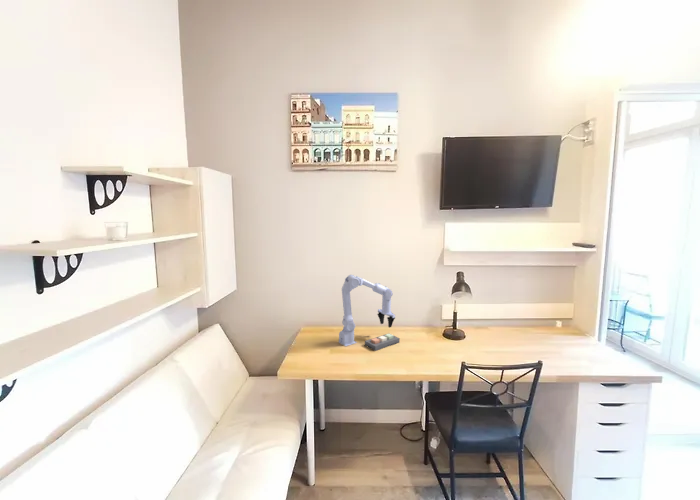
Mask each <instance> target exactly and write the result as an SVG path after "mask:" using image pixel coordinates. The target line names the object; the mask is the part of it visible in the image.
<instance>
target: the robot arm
mask: <svg viewBox="0 0 700 500" xmlns="http://www.w3.org/2000/svg"><path fill="white" fill-rule="evenodd" d="M358 286H365V287H368V288H370V289H372V291H373V292H375V293H376V294H379V295H381V296H382V303H381V304H382V305H381V309H377V314H376V315H377V316H378V319H379V322H380V323H379V324H380V325H382V324H384V322H385V316H387V317H386V319H387V322H388V323H387V324H388V325H387V326H388V328H392V326H393V322H394V320H395V319H396V314H394V313H393V312H392V309H391V308H392V306H391V305H392V296H393V291H392V289H390V288H389V287H387V286H386V285H385V286H384V285H382V284H381V283H380V282H378V283H377V282H376V283H375V282H374V283H373V282H370V281H369V280H366V279H365V278H363V277H360V276H357V275H355V274H349V275H347V277H345V278H344V283H343V284H342V287H341V295H342V307H343V309H342V310H343V317H342V318H343V319H342V325H343V327H342V330H340V331H339V333H338V343H339V344H340V345H341V346H344V347H348V346H350V345H354V344H357V343H358V342H357V341H355V329H356V323H355V322H354V318H353V312H352V301H351V291H352V290H354V289H356V288H358Z"/></svg>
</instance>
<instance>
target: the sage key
mask: <svg viewBox="0 0 700 500" xmlns="http://www.w3.org/2000/svg"><path fill="white" fill-rule="evenodd" d="M384 335H385V334H384ZM394 336H395V335H394V334H392V333H389V334H388V333H386V335H385V337H387V339H392V338H394Z"/></svg>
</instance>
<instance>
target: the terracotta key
mask: <svg viewBox="0 0 700 500" xmlns="http://www.w3.org/2000/svg"><path fill="white" fill-rule="evenodd" d="M370 339H371V342H372V343H374V344H377V343H380V340H379V339H377V338H376V337H374V339H373V338H370Z"/></svg>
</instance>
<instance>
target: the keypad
mask: <svg viewBox="0 0 700 500" xmlns="http://www.w3.org/2000/svg"><path fill="white" fill-rule="evenodd" d="M386 334H390V333H389V332H388V333H386ZM386 334H383V335H379V336H377V337H374V338H377V339H378V337H380V336H385V335H386ZM374 338H373V337H372V338H369V339H366V340H364V346H365V347H367V348H369V349H371V350H373V351H374V352H376V351H379V350H382V349H385V348H388V347H391V346H394V345H397V344H400V339H401V338H400V337H399V336H395V335H394V338H392V339H387V340H386V341H383V342H382V341H380V343H377V344H374V343H372V342H371V339H374Z"/></svg>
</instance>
